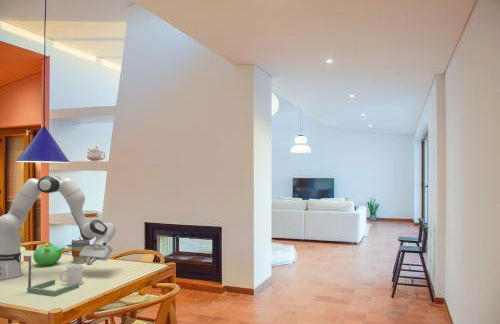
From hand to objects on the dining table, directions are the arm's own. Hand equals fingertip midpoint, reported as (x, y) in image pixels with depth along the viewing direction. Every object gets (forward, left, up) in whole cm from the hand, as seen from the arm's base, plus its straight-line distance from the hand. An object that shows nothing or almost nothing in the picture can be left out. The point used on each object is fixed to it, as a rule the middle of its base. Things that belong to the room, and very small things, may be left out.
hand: (88, 264), depth 248 cm
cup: (-7, -12, -8) cm, 16 cm away
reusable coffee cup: (-15, +46, -8) cm, 49 cm away
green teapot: (-35, +40, -8) cm, 54 cm away
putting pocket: (-15, -22, -8) cm, 28 cm away
